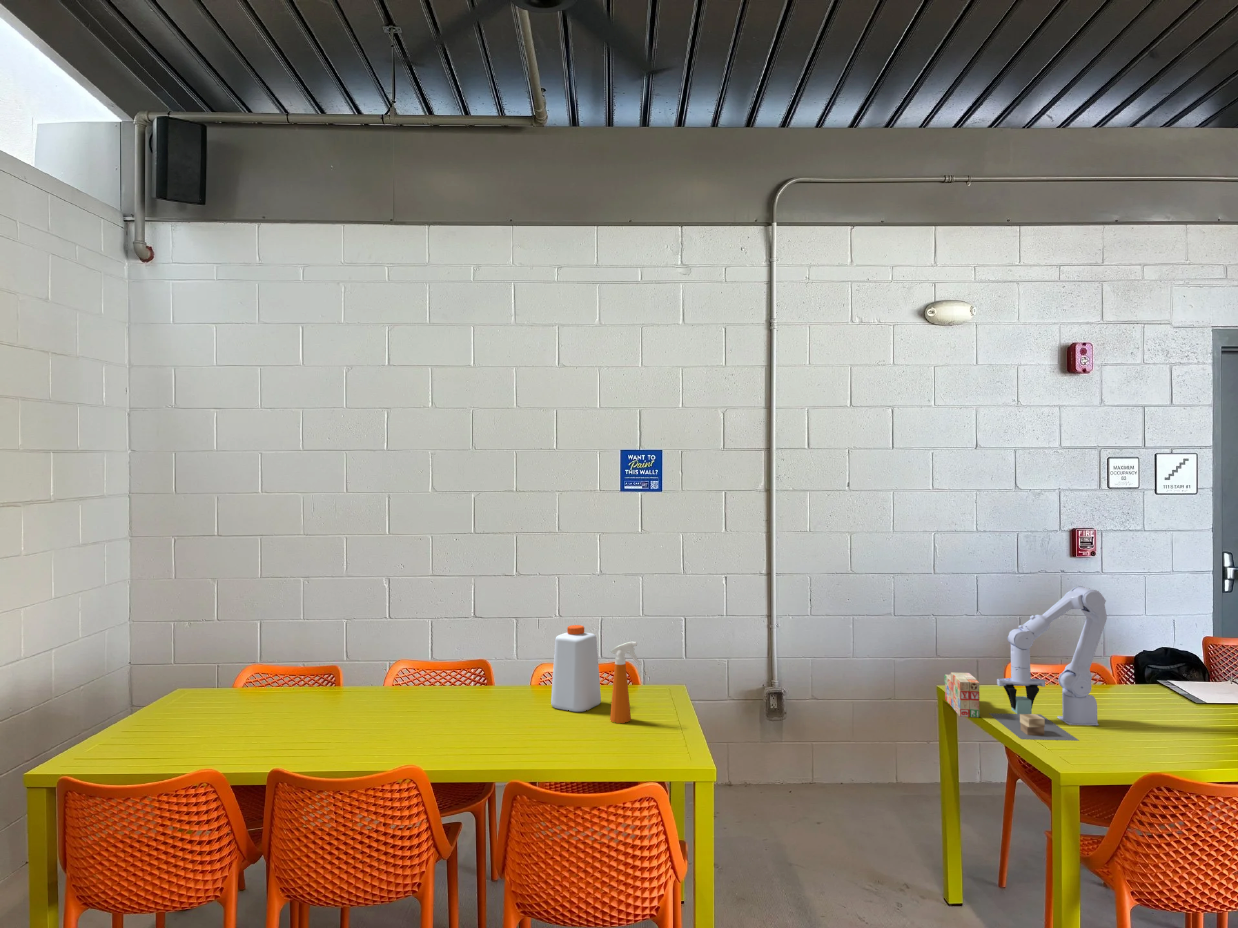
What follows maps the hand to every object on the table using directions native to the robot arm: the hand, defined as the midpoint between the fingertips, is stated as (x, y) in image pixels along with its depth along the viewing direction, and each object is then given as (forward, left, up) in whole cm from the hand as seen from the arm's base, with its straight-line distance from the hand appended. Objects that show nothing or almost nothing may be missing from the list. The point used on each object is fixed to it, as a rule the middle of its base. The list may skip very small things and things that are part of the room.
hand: (1021, 707), depth 258 cm
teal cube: (0, 0, -1) cm, 1 cm away
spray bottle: (+130, +9, -5) cm, 130 cm away
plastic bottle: (+149, -7, -5) cm, 149 cm away
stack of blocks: (+15, -12, -5) cm, 20 cm away
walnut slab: (+2, +13, -4) cm, 14 cm away
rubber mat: (0, +6, -4) cm, 8 cm away
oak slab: (+2, +13, -1) cm, 13 cm away
